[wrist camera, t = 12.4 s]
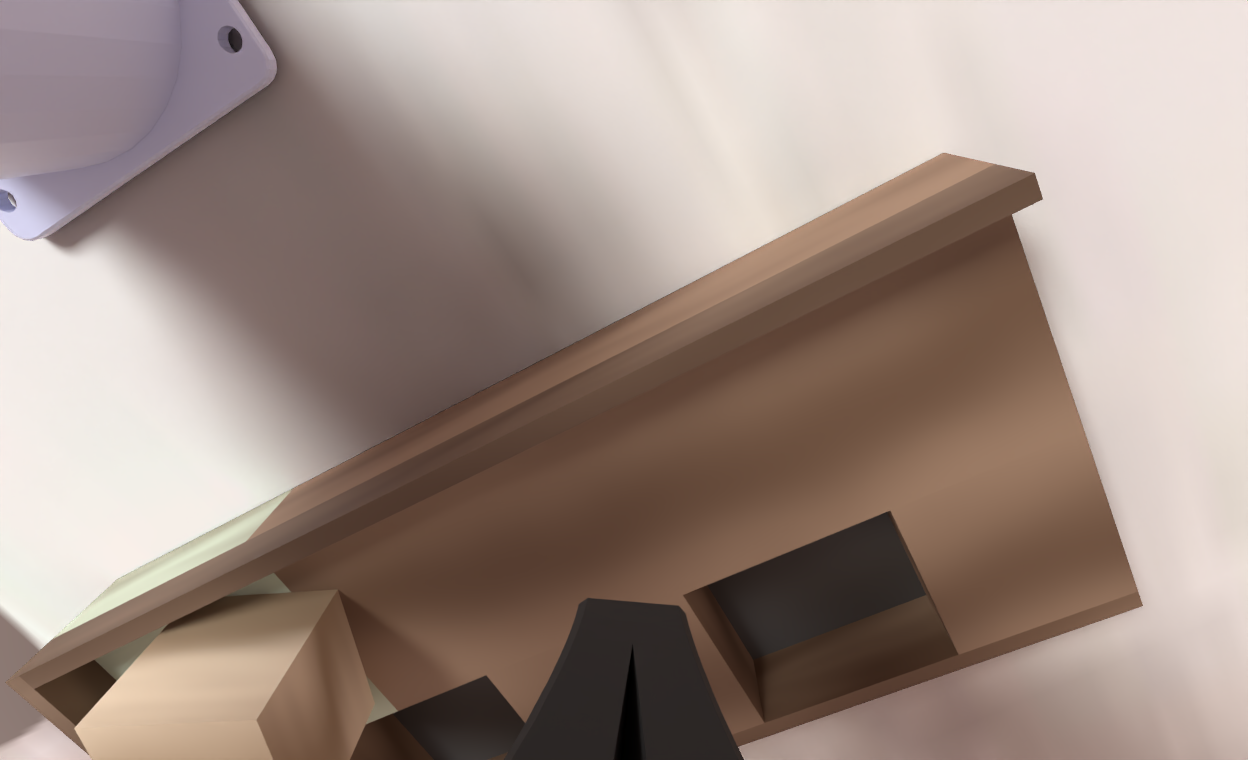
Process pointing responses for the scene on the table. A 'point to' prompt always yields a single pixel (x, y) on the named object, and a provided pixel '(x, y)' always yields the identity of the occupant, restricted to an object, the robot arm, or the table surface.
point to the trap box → (700, 494)
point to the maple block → (239, 686)
